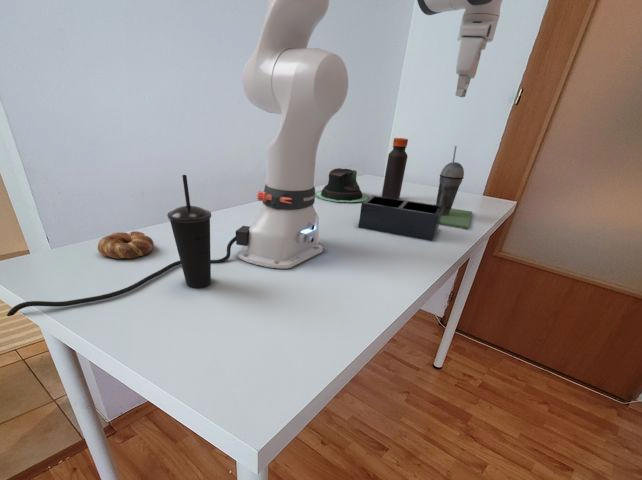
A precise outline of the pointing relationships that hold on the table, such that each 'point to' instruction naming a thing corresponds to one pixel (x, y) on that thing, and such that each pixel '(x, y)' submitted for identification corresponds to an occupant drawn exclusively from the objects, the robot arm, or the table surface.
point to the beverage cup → (449, 185)
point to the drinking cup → (192, 241)
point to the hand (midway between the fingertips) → (460, 96)
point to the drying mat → (457, 218)
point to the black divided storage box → (400, 217)
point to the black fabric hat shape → (342, 187)
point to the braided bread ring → (125, 245)
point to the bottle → (395, 169)
